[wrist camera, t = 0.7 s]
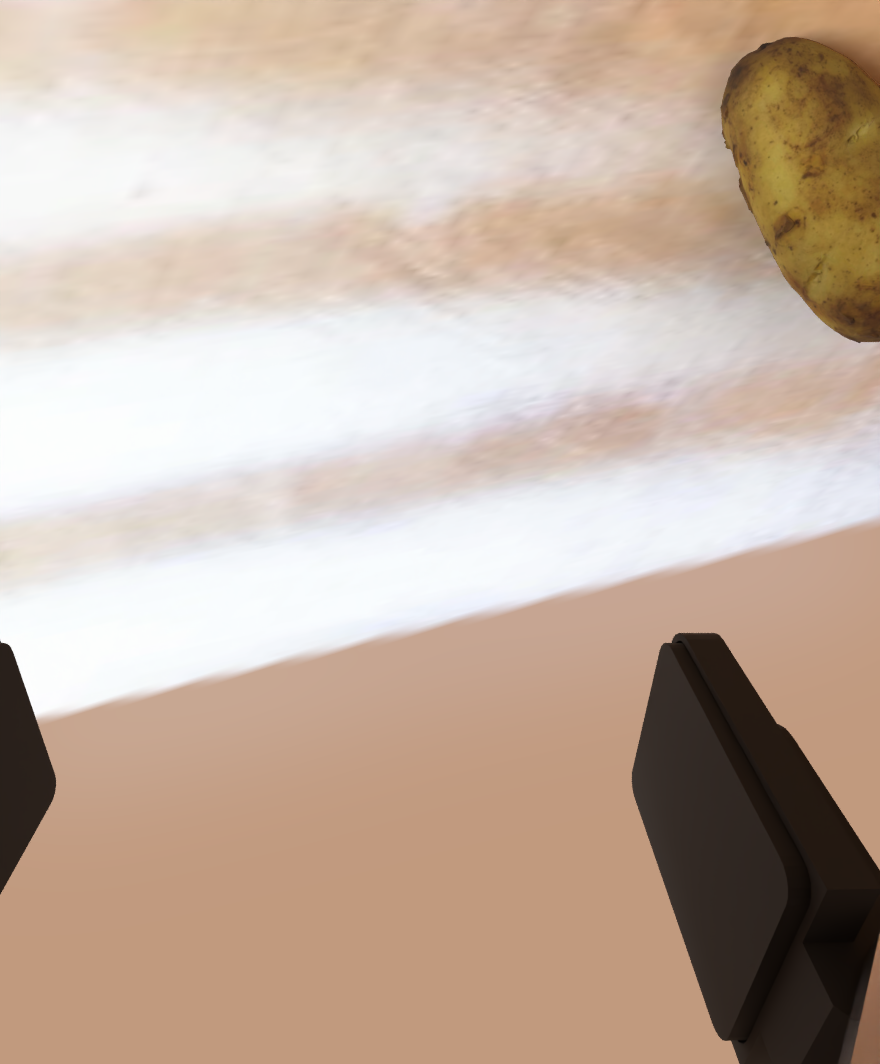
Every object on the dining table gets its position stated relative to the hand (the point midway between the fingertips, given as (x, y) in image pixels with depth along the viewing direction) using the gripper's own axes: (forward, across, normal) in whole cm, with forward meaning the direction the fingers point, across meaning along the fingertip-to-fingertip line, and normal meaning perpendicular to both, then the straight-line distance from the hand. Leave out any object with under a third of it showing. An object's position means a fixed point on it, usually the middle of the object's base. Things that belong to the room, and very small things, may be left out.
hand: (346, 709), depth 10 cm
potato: (+29, -19, -6) cm, 35 cm away
